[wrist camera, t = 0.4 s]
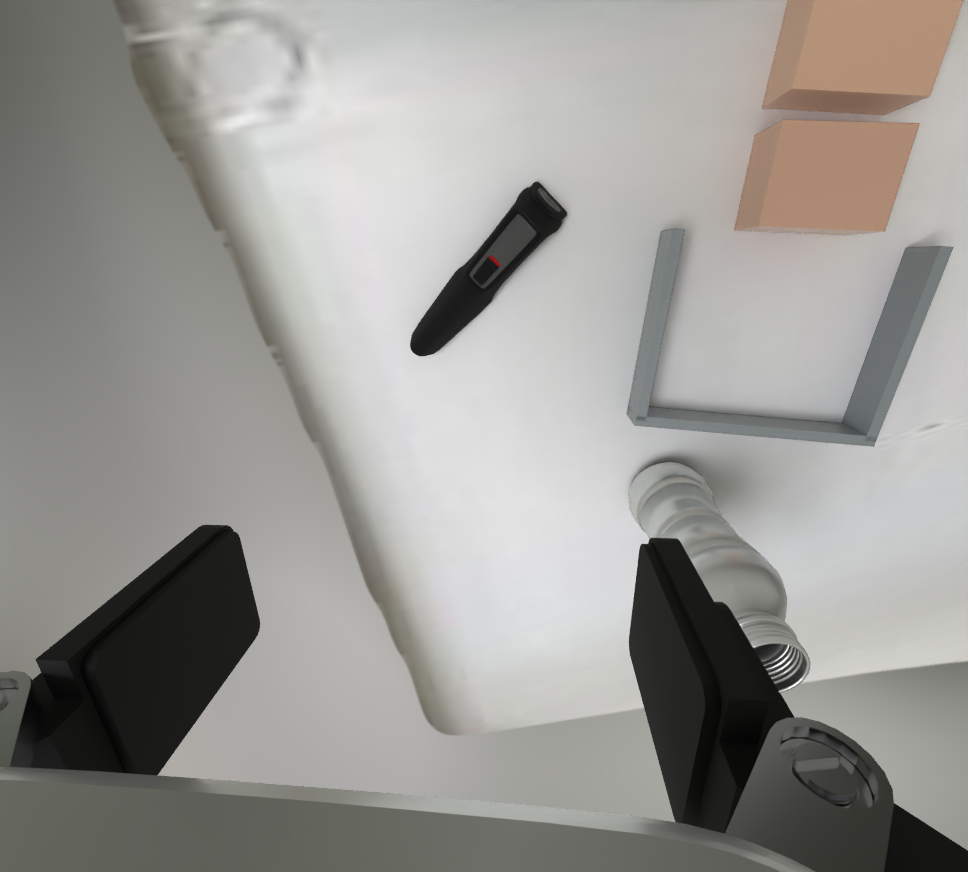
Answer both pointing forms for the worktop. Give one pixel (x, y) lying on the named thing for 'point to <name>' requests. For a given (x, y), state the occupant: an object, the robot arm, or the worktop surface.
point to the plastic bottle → (721, 563)
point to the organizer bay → (857, 427)
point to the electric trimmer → (488, 268)
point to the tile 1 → (824, 176)
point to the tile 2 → (859, 54)
